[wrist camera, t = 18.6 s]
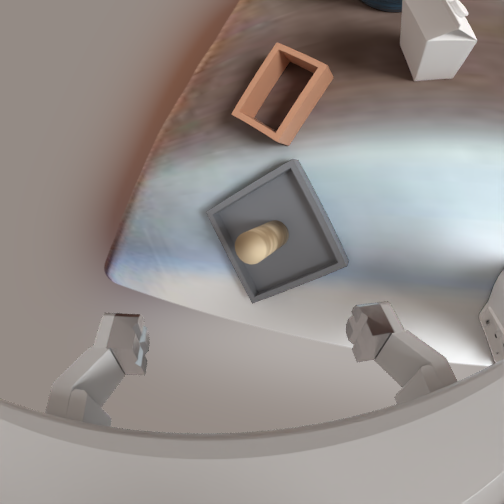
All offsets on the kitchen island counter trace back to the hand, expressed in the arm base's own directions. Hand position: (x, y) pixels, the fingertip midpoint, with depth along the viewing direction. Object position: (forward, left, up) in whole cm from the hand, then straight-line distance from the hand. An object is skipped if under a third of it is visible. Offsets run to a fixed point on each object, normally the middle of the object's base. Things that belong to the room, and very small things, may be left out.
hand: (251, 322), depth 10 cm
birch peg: (+2, +12, -35) cm, 37 cm away
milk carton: (+16, -25, -36) cm, 47 cm away
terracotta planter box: (+21, -1, -36) cm, 42 cm away
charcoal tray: (+2, +12, -36) cm, 38 cm away
